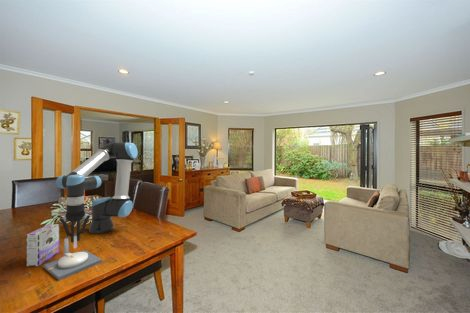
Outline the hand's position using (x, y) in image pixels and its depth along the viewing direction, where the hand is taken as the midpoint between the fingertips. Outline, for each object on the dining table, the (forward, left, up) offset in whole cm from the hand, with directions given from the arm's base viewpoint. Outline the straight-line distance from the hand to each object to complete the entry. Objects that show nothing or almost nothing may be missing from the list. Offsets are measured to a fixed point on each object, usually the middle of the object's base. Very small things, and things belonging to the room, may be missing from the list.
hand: (75, 247), depth 110 cm
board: (+7, -3, -6) cm, 10 cm away
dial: (+5, -3, -4) cm, 8 cm away
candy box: (-12, -9, -6) cm, 17 cm away
